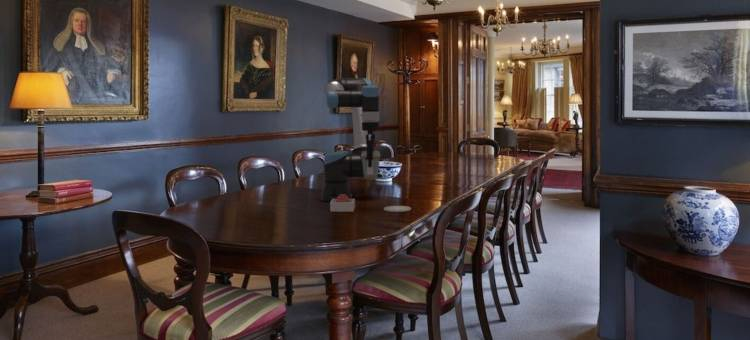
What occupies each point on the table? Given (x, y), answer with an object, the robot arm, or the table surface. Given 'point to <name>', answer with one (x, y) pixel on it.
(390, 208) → the pad
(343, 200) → the dome plunger
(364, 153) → the coffee cup
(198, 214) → the table surface
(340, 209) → the popper housing
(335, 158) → the robot arm
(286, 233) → the table surface
